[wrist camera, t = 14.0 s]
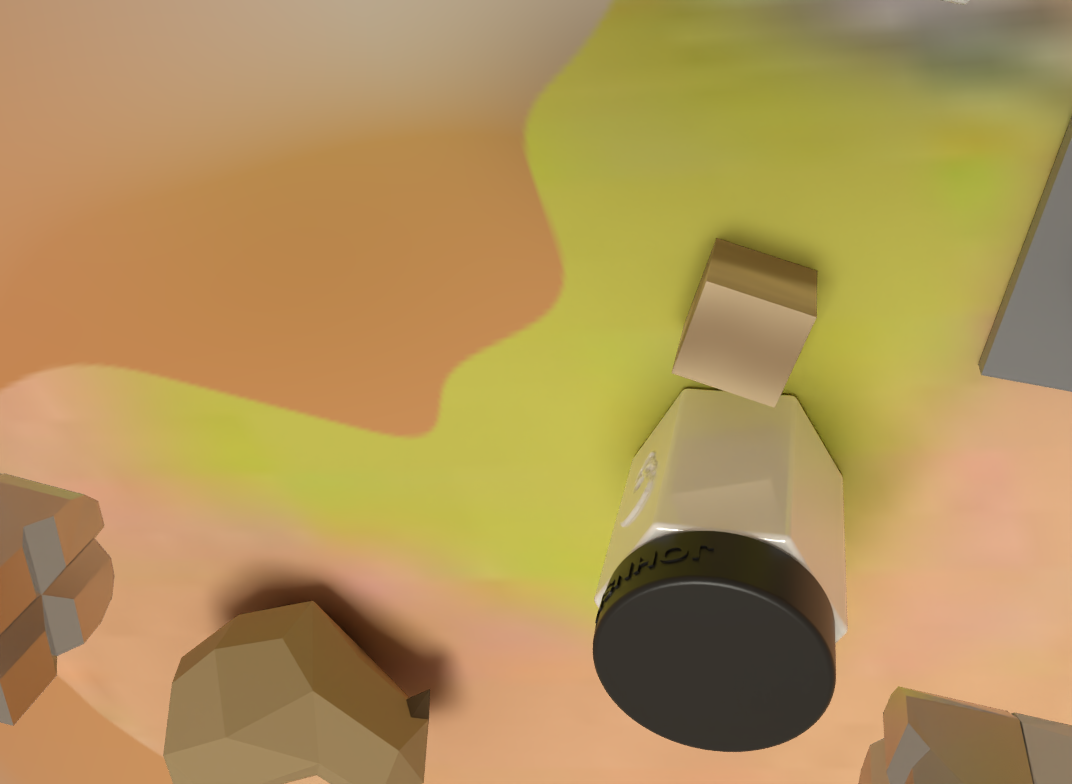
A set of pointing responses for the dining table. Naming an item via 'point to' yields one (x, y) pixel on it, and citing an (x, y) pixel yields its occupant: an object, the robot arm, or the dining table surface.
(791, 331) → the oak block
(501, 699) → the dining table surface
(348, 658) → the low-poly potato
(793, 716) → the jar
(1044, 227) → the coaster
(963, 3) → the skincare box
